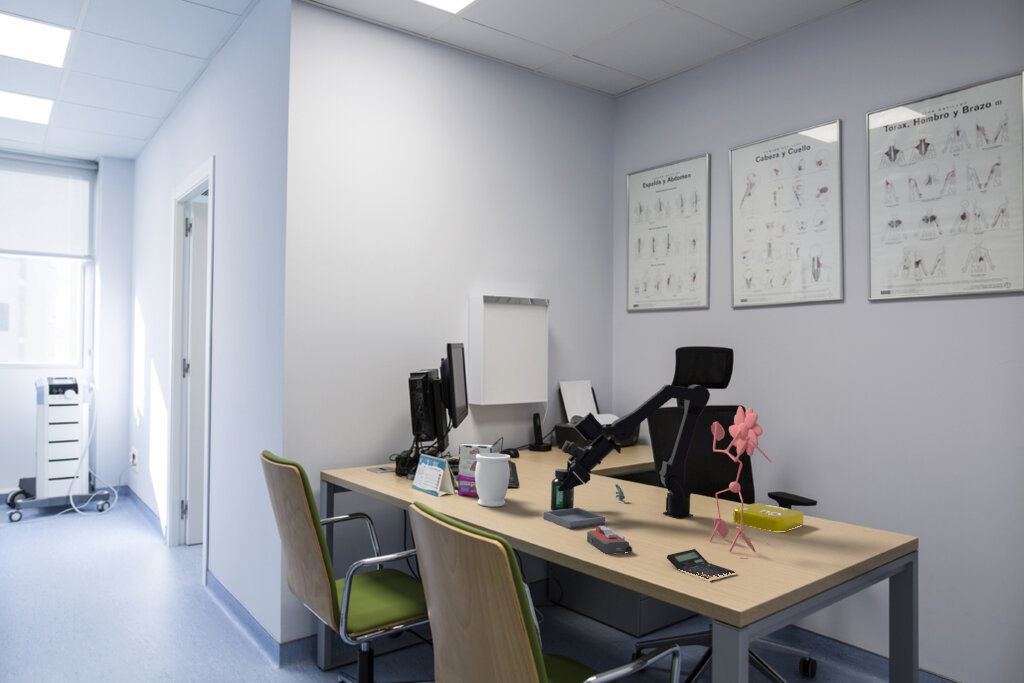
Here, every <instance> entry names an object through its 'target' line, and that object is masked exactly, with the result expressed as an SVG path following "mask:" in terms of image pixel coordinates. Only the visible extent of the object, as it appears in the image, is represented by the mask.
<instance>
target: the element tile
mask: <svg viewBox="0 0 1024 683" xmlns="http://www.w3.org/2000/svg"><path fill="white" fill-rule="evenodd" d="M741 509H742V506H740V507H736V508H734V509H733V520H732V521H733V523H734V524H736V523H737V525H740V524H741ZM745 525H746V526H745ZM800 525H803V526H804V512H803V511H800V510H795V509H791V508H786V507H781V506H776V505H773V504H772V505H771V504H766V503H760V502H755V503H751V504H750V503H749V504H747V505H743V518H742V526H745V527H749V526H752V527H751V528H753V527H756V528H755V529H758V528H761V529H760V530H762V529H766V530H771V531H787V530H789V529H792V528H795V527H797V526H800ZM766 530H765V531H766Z"/></svg>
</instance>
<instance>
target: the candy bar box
mask: <svg viewBox="0 0 1024 683" xmlns="http://www.w3.org/2000/svg"><path fill="white" fill-rule="evenodd" d="M458 448H459V449H458V474H457V476H458V478H457V479H458V482H457V486H458V487H457V495H458V496H461V497H462V496H464V497H465V496H466V497H475V498H479V496H478V494H477V490H476V481H475V470H476V464H477V461H478V460H477V459H476V455H477V454H482V453H496V445H494V444H481V443H480V444H479V443H478V444H477V443H475V444H474V443H461V444H460V445H459V446H458Z"/></svg>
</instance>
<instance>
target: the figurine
mask: <svg viewBox="0 0 1024 683" xmlns="http://www.w3.org/2000/svg"><path fill="white" fill-rule="evenodd" d="M733 417H734V418H733V420H734V421H733V425H730V426H729V427H728V432H729V435H730V436H731V437H732V438H733V440H732V441H731V442H730V444H729V445H728V446H727V448H726V449H724V450H723V449H716V443H717V441H721V440H722V439H724V437H725V434H726V433H725V429H724V427H723V426H722V424H720V423H719V421H715V422H713V423H712V424H711V425H710V431H711V433H712V435H713V445H712V452H714V453H715V452H716V453H724V454H725V455H728V456H729V457H730V459H732V460H733V461H734V463H737V462H738V463H739V467H738V471H737V476H736V480H735V481H732V482H730V483H729V485H728V486H729V487H728V488H726V489H724V490H721V491H717V492H715V501H716V506H717V507H716V508H717V513H718V517H717V518H715V519H714V522H713V526H714V530H713V532H712V534H711V536H710V538H709V540H708V541H709V542H712V541H713V538H715V537H714V536H715V535H716V533H718V534H719V536H721V538H723V539H725V538H726V537H727V535H728V534H729V527H728V525H727V523H726V522H725V520H723V519H722V518H721V514H720V513H721V512H720V511H721V510H720V504H719V500H718V498H719V497H718V495H719V494H722V493H724V492H727V491H731V492H732V493H738V494H739V497H740V501H741V507H742V509H741V525H740V527H739V526H736V530H737V533H736V534H735V535H736V536H735V538H734V539H733V541H732V543H731V546H730V548H729V550H728V552H730V553H732V551H733V549H734V547H735V545H736V542H737V541H738V539H739V537H740V536H741V538H742V540H743V541H744V543H746V545H747V546H748V547H749V548H750V549H751V550H752V551H753V553H755V552H756V549H755V547H754V544H752V542H751V539H749V538H748V537H749V536H747V534H746V533H745V532H744V531H743V525H742V518H743V506H744V499H743V496H742V493H741V484H740V483H739V477H740V476H741V475H740V473H741V470H742V468H743V465H744V464H743V463H742V461H741V460H740V459H739V458H740V456H741V455H742V454H743V453H744V452H745V451H746V454H747V455H748V456H749V457H752V456H753V455H754V452H755V449H757V450H758V451H759V453H761V454H762V456H764V458H765V459H766V460H768V462H769V463H772V461H771V459H770V458H769V457H768V456H767V455H766V454H765V453H764V451H763V450H762V449H761V448H760V447H759V440H758V437H760V436H761V435H763V428H762V427H761V426H760V425H759V424H758V423H757V421H758V419H759V417H758V414H757V413H756V412H754V408H753V407H750V408H747V409H746V411H745V410H744V408H743V406H738V408H737V410H736V413H735V415H734V416H733ZM732 446H734V447H735V448H736V453H737V455H736V456H734V455H733V454H732V453H730V449H731V448H732ZM730 535H731V536H733V534H732V533H731V534H730ZM756 553H757V552H756ZM741 559H745V560H747V559H748V557H741Z"/></svg>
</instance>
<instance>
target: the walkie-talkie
mask: <svg viewBox="0 0 1024 683" xmlns="http://www.w3.org/2000/svg"><path fill="white" fill-rule="evenodd" d="M586 534H587V535H586V541H587V543H588V544H589V545H591V546H592V547H594V548H595V549H597V550H598V551H599V550H600V551H599V552H601V553H602V552H603V553H602V554H604V553H605V554H604V555H607V554H608V555H615V554H614V553H625V552H629V553H631V552H633V547H632V546H630V542H629V541H627V540H626V538H625V536H624V535H623V534H621V533H620V532H619V531H616V532H615V531H614V532H613V530H612V529H611V528H609V527H608V526H606V525H596V528H595V529H593V530H589V531H587V533H586Z"/></svg>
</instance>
